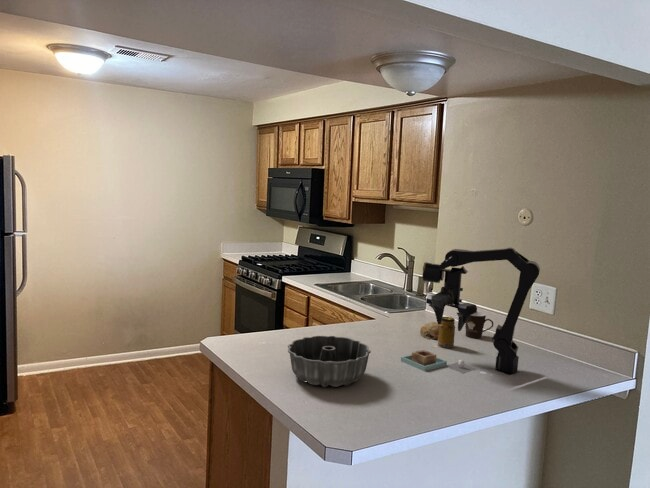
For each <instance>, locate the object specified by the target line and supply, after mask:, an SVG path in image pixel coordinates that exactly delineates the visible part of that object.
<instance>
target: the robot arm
mask: <svg viewBox="0 0 650 488" xmlns="http://www.w3.org/2000/svg"><path fill="white" fill-rule="evenodd" d="M495 261H508V262H509V263H510V264H511V265H512V266H513V267H514V268H515V269H516V270H518V271H519V277H518V278H519V279H518V285H517V289H516V291H515V294H514V296H513V299H512V301H511V304H510V308H509V310H508V313H507V315H506V317H505V320H504V322H503V324H502V325H500V324H497V326H496V327H495V333H493V335H492V336H493V337H492V340H493V347H494V348H495V350H496V351H498V352H497V356H496V357H495V368H493V371H496V372H499V373H501V374H505V375H508V376H511V375H515V374H518V373H520V372H521V371H519V370H518V368H519V359H520V356H518V355H517V354H518V351H519V346H518V345H517V344H516V343H515V341H514V336H515V335H514V334H515V330H516V324H517V321H518V320H519V316H520V314H521V311H522V309H523V306H524V305H525V301H526V299H527V296H528V293H529V291H530V289H531V288H532V286H533V285H534V283H535V282H536V280H537V279H538V277H539V274H540V273H541V267H540V265H539V263H537V262H536V261H533V260H529V259H528V258H527V257H525V256H524V255H523V254H521V253H519V252H518V251H517V250H516V249H515V248H514V247H507V248H496V249H484V250H483V249H482V250H470V249H469V250H468V249H462V248H461V249H459V248H455V249H451V250H449V251H447V253H446V254H445V256H444V260H443V261H442V262H440V264H438V263H431V262H425V264H424V269H423V272H422V280H423V282H428V283H435V284H440V283H441V281H442V282H443V283H444V284H443V286H441V287H440V292H438V293H436V294H431V295H428V296H427V297H426V302H425V303H426V304H428V306H429V307H431V309H433V311H434V315H435V318H436V323H438V324H439V325H440V324H441V321H442V317H444V311H445V307H446V306H447V307H452V308H455V309H456V310H457V312H456V315H457V317H458V319H457V321H458V322H457V331H458V332H461V331H462V329H463V328H464V327H465V322H466V321H467V319H468V318H469V317H470V315H472V314H474V313H477V311H478V306H477V305H476V304H475V303H470V302H463V299H461V298H460V297H461V292H463V289H464V288H463V287H462V275H466V274H467V273H468V272H469V271H468V270H467V269H466V268H465V266H463V265H467V264H471V263H478V262H479V263H480V262H495ZM459 266H461V267H459ZM450 267H451V269H448V268H450ZM462 302H463V303H462Z"/></svg>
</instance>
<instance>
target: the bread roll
mask: <svg viewBox="0 0 650 488" xmlns="http://www.w3.org/2000/svg"><path fill="white" fill-rule="evenodd" d="M419 333H420V335H421V337H422V338H424V339H427V340H428V339H429V340H435V341H436V340H437V341H438V335H439V324H438V322H437V321H432V322H427V323H424V324H423V325H422V326H421V327H420V331H419Z"/></svg>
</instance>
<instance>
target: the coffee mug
mask: <svg viewBox="0 0 650 488" xmlns="http://www.w3.org/2000/svg"><path fill="white" fill-rule="evenodd" d="M486 317H487V314H486V313H485V312H482V311H478V310H477V313H474V314H472V315H470V317H469V318H468V319H467V321H466V322H465V324H464V327H465V337H467V338H470V339H476V340H477V339H482V336H483V333H484V332H486V331H489V330H491V329H492V328H493V327H494V321H493V320H492V319H491V318H486ZM487 321H489V322H490V323H491V326H490V327H489V328H486V329H484V327H485V323H486V322H487Z"/></svg>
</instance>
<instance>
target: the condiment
mask: <svg viewBox="0 0 650 488" xmlns="http://www.w3.org/2000/svg"><path fill="white" fill-rule="evenodd" d="M455 323H456V322H455V318H453V317H451V316H443V317H442V321H441V324H440V325H439V335H438V340H437V345H433V346H432V347H433V348H441V349H448V350H449V349H453V348H454V347H455V346H454V345H455V334H456V333H455V332H456V326H455Z"/></svg>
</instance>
